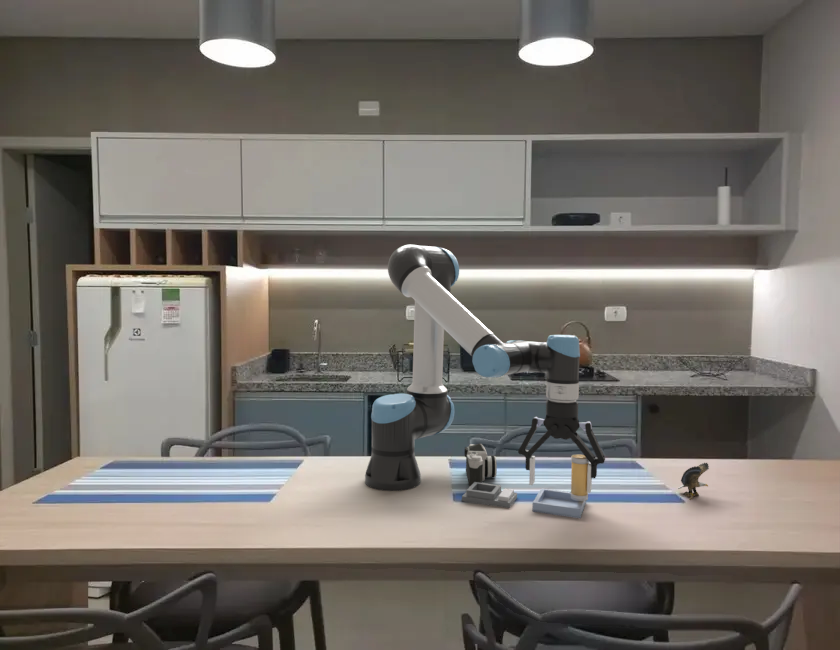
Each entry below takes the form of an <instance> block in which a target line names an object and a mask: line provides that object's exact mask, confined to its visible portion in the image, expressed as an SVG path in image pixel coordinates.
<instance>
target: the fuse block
mask: <svg viewBox="0 0 840 650" xmlns="http://www.w3.org/2000/svg"><path fill="white" fill-rule="evenodd" d="M517 499H518V492H515V490H514V489H512V488H503V489H502V485H501V484H492V483H487V482H482V483H479V482H474V483H473V484H472V485H471V486H469V487H468V488H467V489H466V491H465V492H464V493H463V495H462V496H461V501H462V502H466V503H471V504H477V505H484V506H493V507H498V508H499V507H501V508H506V509H510V508H511V507H512V505H513V504H514V503H515V502H516V500H517Z"/></svg>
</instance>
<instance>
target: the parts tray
mask: <svg viewBox="0 0 840 650" xmlns="http://www.w3.org/2000/svg"><path fill="white" fill-rule="evenodd" d="M586 503H587V500H586V501H576V500H573V499H571V491H565V490H557V489H550V488H543V487H542V488H540V490H539V491H538V493H537V494H536V496H535V498H534V500H533V501H532V512H534V513H540V514H548V515H554V516H561V517H568V518H569V517H570V518H575V519H581V518H582V516H583V512H584V509H585V507H586Z"/></svg>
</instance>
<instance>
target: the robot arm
mask: <svg viewBox="0 0 840 650" xmlns="http://www.w3.org/2000/svg"><path fill="white" fill-rule="evenodd" d="M387 273H388V277H389V279H390V281H391V283H392V284H393V285H394V287H395V288H396V290H398V291H399V292H400V293H401V294H402V295H403V296H404V297H406V298H412V299H413V300H414V317H413V318H414V321H413V352H412V353H413V354H412V355H413V357H412V382H411V384H410V385H409V386H408V387H406V393H394V394H386V395H382V396H380V397H378V398H376V399H375V400H374V402H373V404H372V407H371V414H370V418H371V456H370V459H369V462H368V465H367V468H366V471H365V474H364V484H365V485H366V486H367V487H369V488H371V489H374V490H378V491H387V492H397V491H407V490H411V489H414V488H417V487H419V485H420V484H421V482H422V480H421V477H422V476H421V474H422V473H421V472H420V468H419V465H418V461H417V459H416V455H415V443H416V442H415V440H418V439H422V438H425V437H429V436H436V435H438V434H441V433H442V432H444V431H446V430H447V429H449V428H450V426H451V425H452V423H453V422H454V417H455V405H454V402H453V401H452V398H451V397H450V395H448V389H447V387H446V386H445V385H444V384H443V375H444V374H443V371H444V370H443V368H444V345H445V344H444V342H445V341H444V338H445V332H446V333H448V334H449V336H450V337H452V338H453V339H454V341H456V342H457V343H458V345H459V346H460V347H461V348H462V349H464V350H465V352H467V353H468V355H470V356H471V358H472V359H471V360H472V365H473V367H474V371H475V372H476V373H477V374H478V375H479V376H481V377H484V378H501V377H502V376H509V375H514V374H519V373H525V372H526V373H527V372H528V373H529V372H530V373H541V374H546V389H545V390H546V391H545V396H546V398H547V399H546V400H545V417H544V418H540V417H539V416H534V417H533V418H532V420H531V427H530V428H529V430H528V432H527V434H526V436H525V438H524V439H523V441H522V444H521V445H520V447H519V449H518V451H517V452H518V454H519V455H522V456H524V457H525V466H524V468H525V470H526V471H529V476H528V477H529V480H528V481H529V482H528V483H529V484H528V485H529V486H533V485H534V483H535V482H536V481H535V480H536V475H535V474H536V456H535V455H533V454H534V453H535V452H536V451H537V450H538V449H539V448H540V447H542V445H543V444H544V443H545V442H546V441H547V440H548V439H549V438H550V437H551V438H553V439H558V440H559V439H562V440H565V441H566V440H567V441H568V440H571V441H572V443H574V444H575V445H576V446H577V448H578V449H579V450H580V452H582V455H585V457H586V458H587V459H588V460H589V463H588V472H587V493H588V494H590V493H592V490H593V489H592V486H593V485H592V483H593V479H597V478H596V477H597V475H598V465H601V464H604V463H605V461H606V457H605V455H604V452H603V450H602V449H601V446H600V444H599V442H598V439H597V437H596V436H595V433H594V430H593V423H592V421H590V420H588V421H586V422H583V421H581V422H580V421H579V402H578V399H579V392H580V391H579V390H580V389H579V388H580V387H579V386H580V383H579V382H580V378H579V377H580V375H579V374H580V357H581V352H580V349H581V348H580V340H579V338H578V337H577V336H576V335H572V334H550V335H548V337H547V340H546V342H545V341H543V342H542V341H541V342H540V341H532V340H531V341H528V340H523V339H515V340H514V339H513V340H512V339H511V340H507V341H506V342H503V341H502V340H501V339H499V337H497V336H496V335H495V334H494V332H492V331H491V330H490V329H489V328H488V327H487V326H486V325H485V324H483V323H482V322H481V320H479V319H478V318H477V317H476V316H475V315H474V314H473V313H472V312H471V311H470V310H468V309H467V308H466V307H465V305H463V304H462V303H461V302H460V301H459V300H458V299H457V298H456V297H454V295H452V293H451V292H452V291H451V290H452V289H451V288H452V287H453V286H454V285H455V284H456V282H457V281H458V279H459V276H460V266H459V262H458V259H457V258H456V256H455V255H454V254H453V252H452V251H450V250H448V249H446V248H444V247H441V246H440V247H439V246H434V245H433V246H430V245H429V246H428V245H421V244H420V245H417V244H404V245H401V246H400V247H398V248H397V249H395V250H394V251H393V252H392V253H391V256H390V257H389V259H388V262H387ZM542 425H543V426H544V428H545V429H546V430H547V431H546V432H545V433H544V434H543V435H541V437H540V438H539V439H538V440H537V441H536V442H535V443H534V444H533V445H532V446H531V447H530V448H529V449H527V447H528V446H529V444H530V442H531V440H532V439H533V436H534V435H535V433H536V432H537V429H538V428H540V427H541V426H542ZM580 428H581V429H582V431H583V432H585V433H586V437H587V439H588V441H589V443H590V445H591V447H592V449H593V452H594V453H595V455H596V456H595V455H594V453H593V452H592V451H591V450H590V448H589V447H588V446H587V444H586V443H585V442H584V440H583V439H582V438H581V437H580V436H581V435H579V433H578V430H579V429H580Z"/></svg>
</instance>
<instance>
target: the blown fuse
mask: <svg viewBox="0 0 840 650" xmlns="http://www.w3.org/2000/svg"><path fill="white" fill-rule="evenodd" d="M570 458H571V459H570V460H571V461H570V462H571V479H570V480H571V483H570V486H571V487H570V492H571V499H573V500H576V501H586V502H587V501H588V500H589V493H587V472H588V463H589V460H588V459H587V458H586V457H585V455H584V454H572V455H571V457H570Z"/></svg>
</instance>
